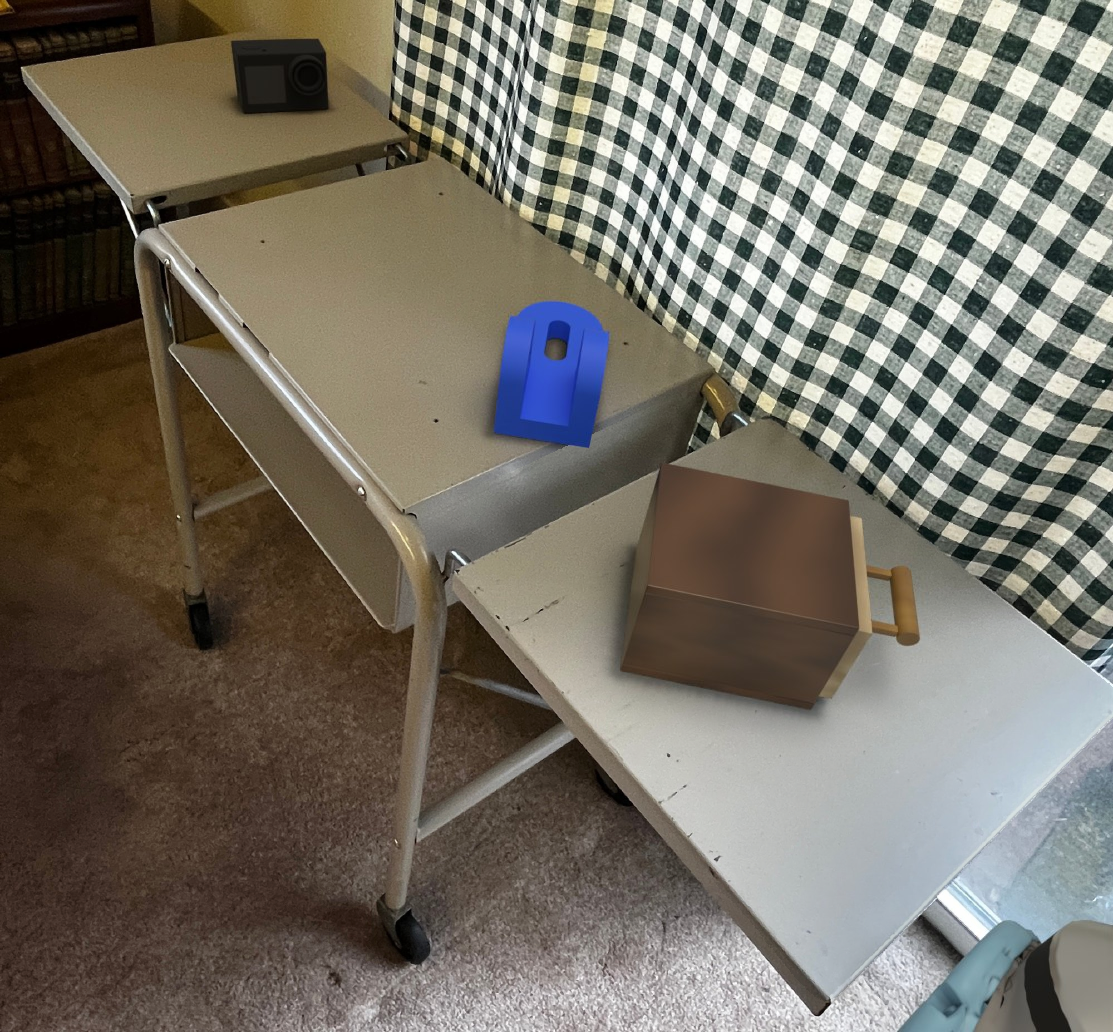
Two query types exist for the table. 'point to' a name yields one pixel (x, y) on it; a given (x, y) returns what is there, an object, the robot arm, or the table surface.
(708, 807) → the table surface
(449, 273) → the table surface
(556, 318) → the bracket
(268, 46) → the digital camera
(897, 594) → the drawer
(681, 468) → the cabinet
